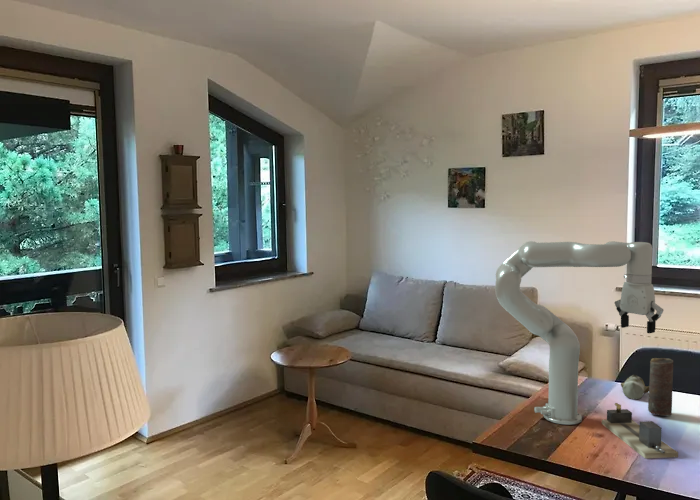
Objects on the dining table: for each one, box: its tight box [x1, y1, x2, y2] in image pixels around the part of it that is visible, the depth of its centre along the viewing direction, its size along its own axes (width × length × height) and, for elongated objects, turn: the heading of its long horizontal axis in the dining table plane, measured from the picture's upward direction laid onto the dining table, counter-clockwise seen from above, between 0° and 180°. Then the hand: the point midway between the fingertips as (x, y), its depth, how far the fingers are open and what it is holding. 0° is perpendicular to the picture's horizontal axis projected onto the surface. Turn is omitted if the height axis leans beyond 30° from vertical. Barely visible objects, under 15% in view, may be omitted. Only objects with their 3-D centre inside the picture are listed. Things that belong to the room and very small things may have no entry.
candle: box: [647, 357, 674, 417], centre depth 201 cm, size 8×7×20 cm
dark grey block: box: [639, 420, 665, 453], centre depth 172 cm, size 9×4×6 cm, turn 3°
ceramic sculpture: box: [620, 373, 649, 400], centre depth 221 cm, size 11×9×15 cm
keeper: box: [606, 402, 633, 423], centre depth 193 cm, size 4×7×6 cm, turn 93°
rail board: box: [601, 418, 679, 459], centre depth 182 cm, size 26×10×2 cm, turn 3°
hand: (637, 329), depth 192 cm, fingers open, 9 cm apart
